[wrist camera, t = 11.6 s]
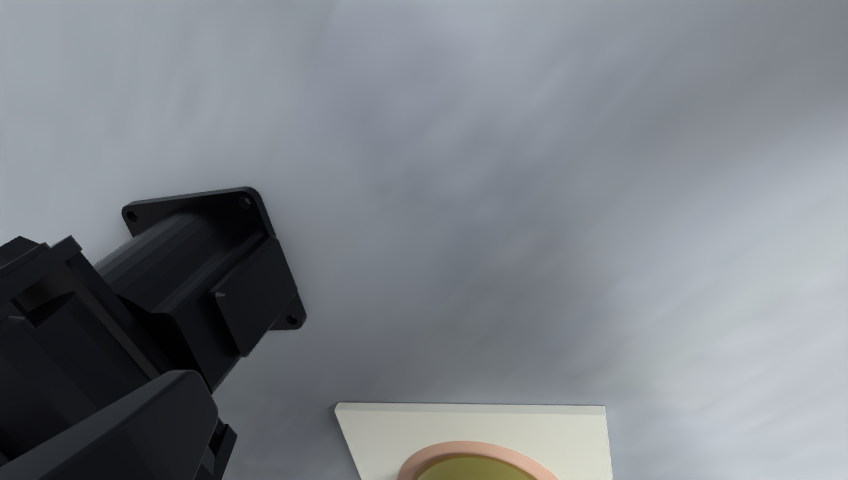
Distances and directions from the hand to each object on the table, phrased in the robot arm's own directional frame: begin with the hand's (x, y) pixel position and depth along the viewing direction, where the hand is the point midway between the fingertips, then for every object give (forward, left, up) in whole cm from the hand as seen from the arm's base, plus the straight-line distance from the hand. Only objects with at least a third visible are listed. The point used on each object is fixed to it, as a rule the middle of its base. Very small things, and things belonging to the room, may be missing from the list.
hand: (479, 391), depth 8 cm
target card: (-5, -18, -12) cm, 22 cm away
